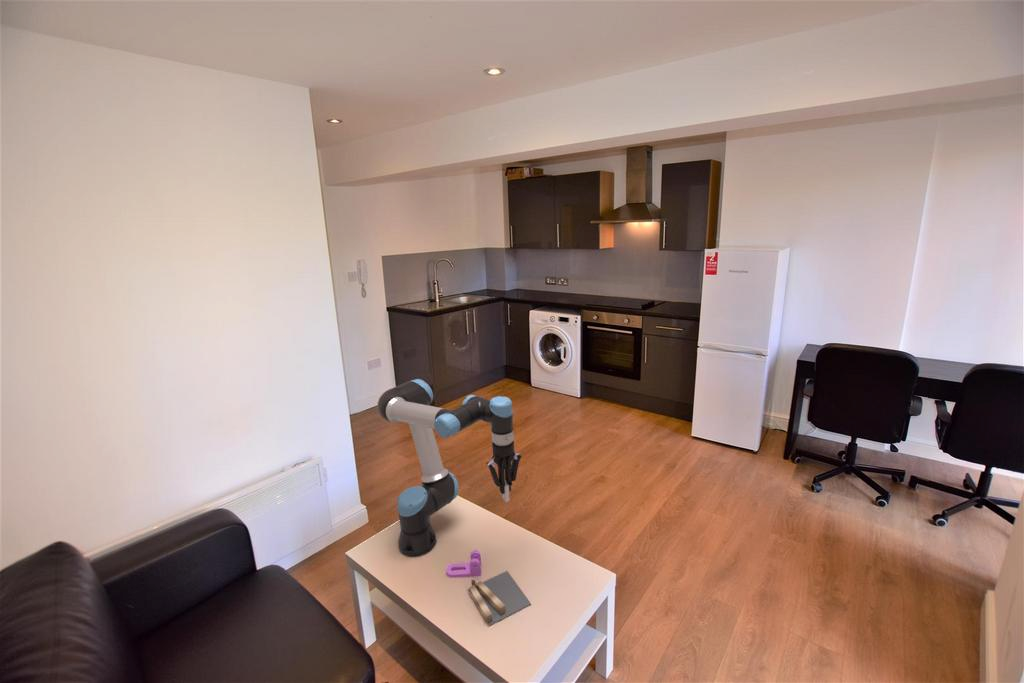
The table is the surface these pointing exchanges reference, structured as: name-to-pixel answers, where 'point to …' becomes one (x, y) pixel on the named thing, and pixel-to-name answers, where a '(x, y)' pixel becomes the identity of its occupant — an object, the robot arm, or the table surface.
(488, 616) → the tongs base
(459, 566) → the bracket
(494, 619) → the mat
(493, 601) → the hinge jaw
